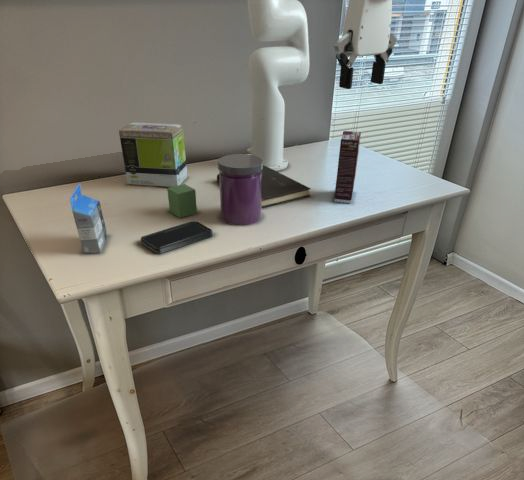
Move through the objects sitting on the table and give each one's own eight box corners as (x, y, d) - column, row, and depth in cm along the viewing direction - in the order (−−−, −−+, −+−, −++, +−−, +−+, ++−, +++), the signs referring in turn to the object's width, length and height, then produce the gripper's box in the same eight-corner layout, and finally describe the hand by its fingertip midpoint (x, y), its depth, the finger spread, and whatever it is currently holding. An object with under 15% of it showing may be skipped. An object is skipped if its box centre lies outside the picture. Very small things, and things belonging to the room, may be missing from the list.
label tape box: (101, 253, 106) (89, 197, 99) (81, 254, 106) (68, 198, 98) (107, 235, 113) (97, 182, 106) (89, 236, 113) (77, 182, 105)
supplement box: (351, 204, 130) (359, 140, 120) (333, 202, 131) (339, 139, 121) (353, 192, 137) (361, 131, 127) (336, 190, 137) (342, 130, 127)
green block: (169, 211, 125) (167, 188, 121) (186, 207, 127) (184, 183, 123) (179, 218, 122) (177, 194, 118) (197, 213, 124) (195, 189, 120)
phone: (214, 231, 113) (157, 249, 105) (214, 235, 114) (157, 254, 106) (194, 220, 118) (138, 237, 110) (195, 224, 118) (139, 241, 110)
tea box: (188, 177, 145) (183, 123, 136) (177, 188, 137) (172, 132, 128) (139, 173, 147) (131, 120, 138) (126, 185, 139) (117, 129, 130)
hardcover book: (263, 172, 149) (263, 164, 147) (309, 196, 134) (310, 188, 132) (216, 182, 142) (216, 174, 140) (260, 208, 127) (260, 199, 125)
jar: (212, 215, 123) (209, 159, 115) (245, 205, 128) (244, 151, 120) (236, 229, 117) (235, 171, 108) (270, 218, 122) (272, 162, 113)
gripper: (388, -13, 104) (375, 79, 115) (327, -12, 96) (320, 86, 106) (416, -11, 99) (400, 84, 110) (355, -10, 91) (344, 93, 102)
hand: (361, 85), depth 108 cm, fingers open, 9 cm apart
